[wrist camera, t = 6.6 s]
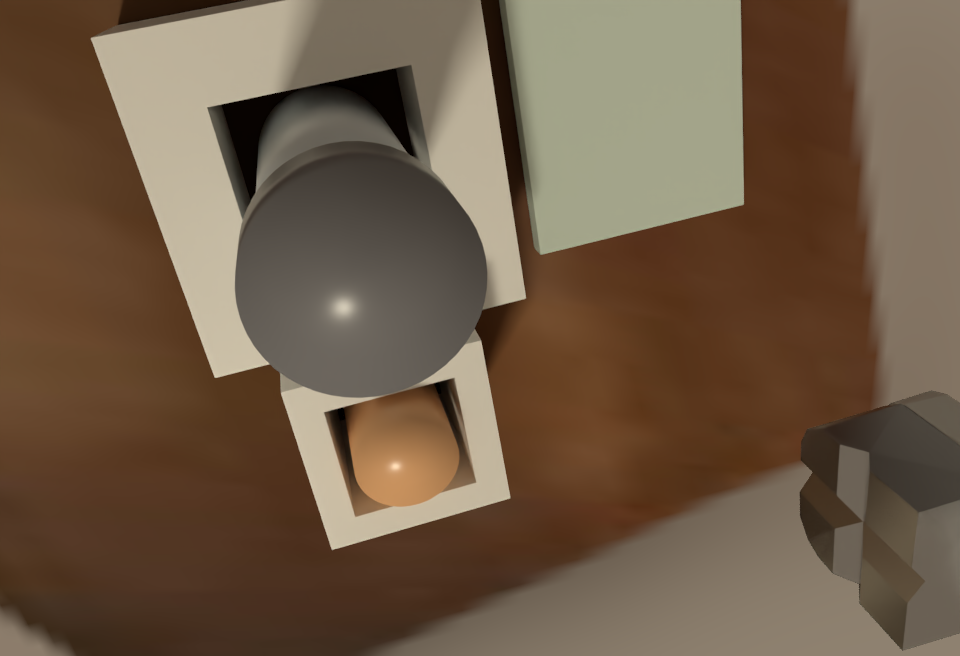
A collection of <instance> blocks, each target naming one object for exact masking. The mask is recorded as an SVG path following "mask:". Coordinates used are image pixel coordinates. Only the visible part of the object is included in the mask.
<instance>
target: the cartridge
mask: <svg viewBox="0 0 960 656" xmlns="http://www.w3.org/2000/svg"><path fill="white" fill-rule="evenodd" d="M486 290H487V264H486V256H485V252H484V248H483V244H482V242H481V239H480V237H479V234H478V232H477V229H476V227H475V226H474V224H473V222H472V220H471V219H470V217H469V215H468V214H467V213H466V212H465V210H464V209H463V208H462V206H461V205H460V204H459V202H458V201H457V200H456V198H455V197H454V196H453V194H452V193H451V192H450V190H449V189H448V188H447V186H446V185H445V184H444V183H443V181H442V180H441V179H440V178H439V177H438V176H437V175H436V174H435V173H434V172H433V171H432V170H431V169H430V168H429V167H428V166H426V165H425V164H424V163H422V162H421V161H420V160H418V159H416V158H415V157H413V156H411V155H409V154H408V153H407V152H406V150H405V149H404V147H403V146H402V145H401V143H400V142H399V140H398V139H397V137H396V136H395V134H394V133H393V131H392V130H391V128H390V127H389V126H388V124H387V123H386V121H385V120H384V118H383V117H382V115H381V114H380V113H379V112H378V110H377V109H376V108H375V107H374V106H373V105H372V104H371V103H370V102H369V101H368V100H366V99H365V98H364V97H362V96H360V95H359V94H357V93H355V92H353V91H351V90H348V89H346V88H342V87H338V86H331V85H317V86H310V87H306V88H303V89H300V90H297V91H295V92H293V93H291V94H290V95H288V96H286V97H285V98H284V99H282V100H281V101H280V102H279V103H278V104H277V105H276V106H275V107H274V108H273V109H272V110H271V112H270V113H269V115H268V116H267V118H266V120H265V122H264V124H263V126H262V129H261V132H260V136H259V142H258V159H257V179H256V193H255V195H254V196H253V198H252V200H251V202H250V204H249V206H248V208H247V210H246V212H245V215H244V218H243V221H242V224H241V229H240V234H239V241H238V250H237V260H236V270H235V296H236V304H237V308H238V312H239V316H240V319H241V322H242V324H243V326H244V329H245V331H246V333H247V335H248V337H249V338H250V340H251V342H252V344H253V345H254V347H255V348H256V349H257V350H258V352H259V353H260V354H261V355H262V357H263V358H264V359H265V360H266V361H267V362H268V363H269V364H270V365H271V366H272V367H273V368H275V369H276V370H277V371H278V372H280V373H281V374H283V375H284V376H285V377H287V378H288V379H290V380H292V381H294V382H296V383H297V384H299V385H301V386H304V387H306V388H309V389H311V390H314V391H316V392H320V393H324V394H328V395H333V396H340V397H350V398H364V397H376V396H381V395H386V394H391V393H394V392H398V391H401V390H404V389H407V388H409V387H411V386H413V385H416V384H418V383H420V382H422V381H423V380H425V379H427V378H428V377H430V376H432V375H433V374H435V373H436V372H437V371H439V370H440V369H441V368H443V367H444V366H445V365H446V364H447V363H448V362H449V361H450V360H451V359H452V358H454V357H455V356H456V355H457V353H458V352H459V351H460V350H461V348H462V347H463V346H464V345H465V343H466V342H467V340H468V339H469V337H470V336H471V334H472V332H473V331H474V329H475V327H476V324H477V322H478V320H479V318H480V315H481V312H482V309H483V306H484V302H485V296H486Z"/></svg>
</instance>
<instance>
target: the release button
mask: <svg viewBox="0 0 960 656" xmlns="http://www.w3.org/2000/svg"><path fill="white" fill-rule="evenodd" d="M344 414H345V420H346V426H347V432H348V438H349V444H350V450H351V456H352V462H353V468H354V473H355V478H356V480H357V483H358V485H359V486H360V488H361V489H362V490H363V492H364V493H365V494H366V495H368V496H369V497H370V498H372V499H373V500H375V501H377V502H379V503H382V504H385V505H389V506H397V507H405V506H412V505H417V504H420V503H423V502H425V501H428V500H430V499H432V498H433V497H435V496H436V495H438V494H439V493H440V492H442V491H443V490H444V489H445V488H446V487H447V486H448V485H449V483H450V482H451V481H452V479H453V477H454V476H455V473H456V471H457V468H458V465H459V448H458V445H457V442H456V439H455V436H454V434H453V431H452V429H451V426H450V423H449V421H448V418H447V416H446V413H445V411H444V408H443V405H442V403H441V400H440V398H439V395H438V392H437V390H436V387H435V385H434V383H432V384H428V385H425V386H421V387H417V388H413V389H410V390H406V391H402V392H398V393H395V394H391V395H387V396H383V397H379V398H376V399H372V400H368V401H364V402H361V403H357V404H353V405H349V406H346V407H344Z"/></svg>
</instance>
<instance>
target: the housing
mask: <svg viewBox="0 0 960 656" xmlns="http://www.w3.org/2000/svg"><path fill="white" fill-rule="evenodd" d="M91 40H92V43H93V45H94V48H95V51H96V54H97V56H98V59H99V62H100V65H101V67H102V70H103V73H104V75H105V78H106V81H107V84H108V86H109V89H110V92H111V95H112V97H113V100H114V103H115V106H116V108H117V111H118V114H119V117H120V119H121V122H122V125H123V128H124V130H125V133H126V136H127V138H128V141H129V144H130V147H131V149H132V152H133V155H134V158H135V160H136V163H137V166H138V169H139V171H140V174H141V177H142V180H143V182H144V185H145V188H146V191H147V193H148V196H149V199H150V201H151V204H152V207H153V210H154V212H155V215H156V218H157V221H158V223H159V226H160V229H161V232H162V234H163V237H164V240H165V243H166V245H167V248H168V251H169V254H170V256H171V259H172V262H173V264H174V267H175V270H176V273H177V275H178V278H179V281H180V284H181V286H182V289H183V292H184V295H185V297H186V300H187V303H188V306H189V308H190V311H191V314H192V317H193V319H194V322H195V325H196V327H197V330H198V333H199V336H200V338H201V341H202V344H203V347H204V349H205V352H206V355H207V358H208V360H209V363H210V366H211V369H212V371H213V374H214V377H215V378H217V377H221V376H225V375H228V374H232V373H236V372H240V371H244V370H248V369H252V368H256V367H260V366H264V365H268V364H269V363H268V362H267V361H266V360H265V359H264V358H263V357H262V355H261V354H260V353H259V352H258V350H257V349H256V348H255V347H254V345H253V344H252V342H251V340H250V338H249V337H248V335H247V333H246V331H245V329H244V326H243V324H242V322H241V319H240V316H239V312H238V308H237V304H236V296H235V270H236V260H237V250H238V241H239V234H240V229H241V224H242V221H243V218H244V215H245V212H246V210H247V208H248V206H249V204H250V202H251V200H250V196H249V193H248V190H247V187H246V183H245V180H244V177H243V174H242V170H241V167H240V164H239V160H238V157H237V154H236V151H235V147H234V144H233V141H232V138H231V134H230V131H229V128H228V125H227V121H226V118H225V115H224V111H223V108H222V105H221V104H226V103H231V102H236V101H240V100H245V99H250V98H255V97H260V96H264V95H269V94H274V93H279V92H283V91H288V90H293V89H298V88H303V87H307V86H312V85H317V84H322V83H326V82H331V81H336V80H341V79H346V78H350V77H355V76H360V75H365V74H369V73H374V72H379V71H384V70H389V69H393V68H396V72H397V77H398V82H399V87H400V92H401V97H402V102H403V106H404V111H405V116H406V121H407V126H408V131H409V136H410V141H411V146H412V150H413V155H414V157H415V158H416V159H418V160H420V161H421V162H422V163H424V164H425V165H426V166H428V167H429V168H430V169H431V170H432V171H433V172H434V173H435V174H436V175H437V176H438V177H439V178H440V179H441V180H442V181H443V183H444V184H445V185H446V186H447V188H448V189H449V190H450V192H451V193H452V194H453V196H454V197H455V198H456V200H457V201H458V202H459V204H460V205H461V206H462V208H463V209H464V210H465V212H466V213H467V214H468V215H469V217H470V219H471V220H472V222H473V224H474V226H475V227H476V229H477V232H478V234H479V237H480V239H481V242H482V244H483V248H484V252H485V256H486V264H487V290H486V296H485V302H484V306H483V309H487V308H491V307H495V306H499V305H503V304H507V303H511V302H515V301H519V300H523V299H526V294H525V288H524V281H523V275H522V268H521V262H520V255H519V249H518V242H517V236H516V229H515V222H514V216H513V209H512V203H511V196H510V190H509V183H508V177H507V170H506V164H505V157H504V150H503V144H502V137H501V131H500V124H499V118H498V111H497V105H496V98H495V92H494V85H493V78H492V72H491V65H490V59H489V52H488V46H487V39H486V33H485V26H484V20H483V13H482V6H481V0H245V1H240V2H235V3H230V4H224V5H219V6H214V7H209V8H204V9H198V10H193V11H188V12H183V13H178V14H172V15H167V16H162V17H157V18H152V19H147V20H141V21H136V22H131V23H126V24H121V25H116V26H114V27H112V28H110V29H108V30H106V31H104V32H102V33H100V34H98V35H96V36H94V37H92V38H91ZM483 309H482V310H483ZM280 382H281V395H282V398H283V401H284V404H285V407H286V410H287V413H288V416H289V419H290V422H291V425H292V428H293V432H294V435H295V438H296V441H297V444H298V447H299V450H300V453H301V456H302V459H303V462H304V465H305V468H306V472H307V475H308V478H309V481H310V484H311V487H312V490H313V493H314V496H315V499H316V502H317V505H318V509H319V512H320V515H321V518H322V521H323V524H324V527H325V530H326V533H327V536H328V539H329V542H330V545H331V549H332V550H333V549H337V548H340V547H344V546H347V545H351V544H354V543H358V542H361V541H365V540H368V539H371V538H375V537H378V536H382V535H385V534H389V533H392V532H396V531H399V530H403V529H406V528H409V527H413V526H416V525H420V524H423V523H427V522H430V521H434V520H437V519H441V518H444V517H447V516H451V515H454V514H458V513H461V512H465V511H468V510H472V509H475V508H478V507H482V506H485V505H489V504H492V503H496V502H499V501H503V500H506V499H510V493H509V488H508V482H507V477H506V472H505V466H504V461H503V456H502V450H501V445H500V439H499V434H498V429H497V423H496V418H495V412H494V407H493V402H492V396H491V391H490V386H489V380H488V375H487V369H486V364H485V359H484V353H483V348H482V342H481V339H480V337H479V336H478V334H477V332H476V330H475V329H474V331H473V332H472V334H471V336H470V337H469V339H468V340H467V342H466V343H465V345H464V346H463V347H462V348H461V350H460V351H459V352H458V353H457V355H456V356H455V357H454V358H452V359H451V360H450V361H449V362H448V363H447V364H446V365H445V366H444V367H443V368H441V369H440V370H439V371H437V372H436V373H435V374H433V375H432V376H430V377H428V378H427V379H425V380H423V381H422V382H420V383H418V384H416V385H413V386H411V387H409V388H407V389H404V390H401V391H398V392H402V391H406V390H410V389H413V388H417V387H421V386H425V385H428V384H432V383H436V382H439V385H440V389H441V394H438V395H439V398H440V400H441V403H442V405H443V408H444V411H445V413H446V416H447V418H448V421H449V423H450V426H451V429H452V431H453V434H454V436H455V439H456V442H457V445H458V448H459V465H458V468H457V471H456V473H455V476H454V477H453V479H452V481H451V482H450V483H449V485H448V486H447V487H446V488H445V489H444V490H443V491H442V492H440V493H439V494H438V495H436V496H435V497H433V498H432V499H430V500H428V501H425V502H423V503H420V504H417V505H412V506H405V507H397V506H389V505H385V504H382V503H379V502H377V501H375V500H373V499H372V498H370V497H369V496H368V495H366V494H365V493H364V492H363V490H362V489H361V488H360V486H359V485H358V483H357V480H356V478H355V473H354V468H353V462H352V456H351V450H350V444H349V438H348V432H347V426H346V420H345V419H344V420H340V417H339V414H338V411H337V409H338V408H342V407H346V406H349V405H353V404H357V403H361V402H364V401H368V400H372V399H376V398H379V397H383V396H387V395H391V394H395V393H398V392H394V393H391V394H386V395H381V396H376V397H364V398H350V397H340V396H333V395H328V394H324V393H320V392H316V391H314V390H311V389H309V388H306V387H304V386H301V385H299V384H297V383H296V382H294V381H292V380H290V379H288V378H287V377H285V376H284V375H283V374H281V373H280Z"/></svg>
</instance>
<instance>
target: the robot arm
mask: <svg viewBox="0 0 960 656" xmlns="http://www.w3.org/2000/svg"><path fill="white" fill-rule="evenodd" d="M801 461H802V462H803V463H804V464H805V465H806V466H807V467H808V468H809V469H810V470H811V471H812V472H813V473H812V474H811V476H810V477H809V479H808V480H807V482H806V483H805V485H804V487H803V488H802V489H801V491H800V517H801V520H802V523H803V526H804V529H805V532H806V535H807V538H808V541H809V542H810V544H811V546H812V547H813V549H814V551H815V552H816V554H817V556H818V557H819V558H820V560H821V561H822V562H823V563H824V564H825V565H826V566H827V567H828V569H829V570H830V571H831V572H832V573H833V574H835V575H837V576H840V577H843V578H845V579H848V580H850V581H853V582H855V583H857V584H859V603H860V605H861V606H862V607H863V608H864V609H865V610H866V611H867V612H868V613H869V614H870V616H871V617H872V618H873V619H874V620H875V621H876V622H877V623H878V624H879V625H880V627H882V629H883V630H884V631H885V632H886V633H887V634H888V635H889V636H890V638H891V639H892V640H893V641H894V642H895V643H896V644H897V645H898V646H899V647H900V649H902V651H903V650H906V649H910V648H913V647H916V646H919V645H923V644H926V643H929V642H933V641H936V640H939V639H943V638H946V637H949V636H952V635H956V634H959V633H960V403H959V402H958V401H956V400H955V399H953V398H952V397H950V396H949V395H947V394H944V393H940V392H936V391H929V392H925V393H922V394H919V395H916V396H912V397H909V398H907V399H903V400H900V401H897V402H893V403H890V404H889V405H888V406H883V407H880V408H876V409H873V410H870V411H866V412H863V413H860V414H856V415H853V416H850V417H846V418H843V419H839V420H836V421H833V422H829V423H826V424H823V425H819V426H816V427H813V428H809V429H807V431H806V433H805V435H804V437H803V439H802V442H801Z"/></svg>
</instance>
